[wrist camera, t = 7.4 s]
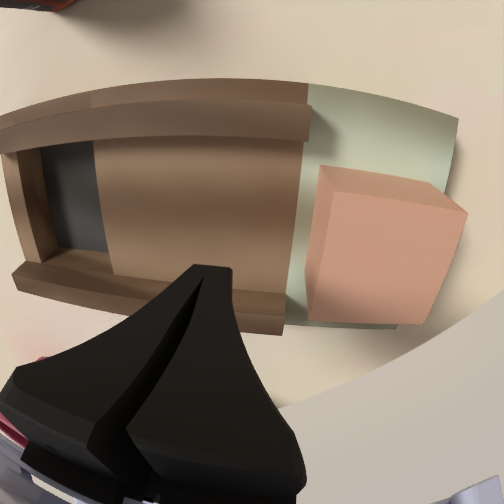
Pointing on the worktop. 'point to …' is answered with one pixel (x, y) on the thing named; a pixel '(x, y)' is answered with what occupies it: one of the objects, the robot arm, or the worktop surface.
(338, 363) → the worktop surface
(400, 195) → the block
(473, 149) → the worktop surface
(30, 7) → the supplement bottle
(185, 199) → the chute
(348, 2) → the worktop surface
